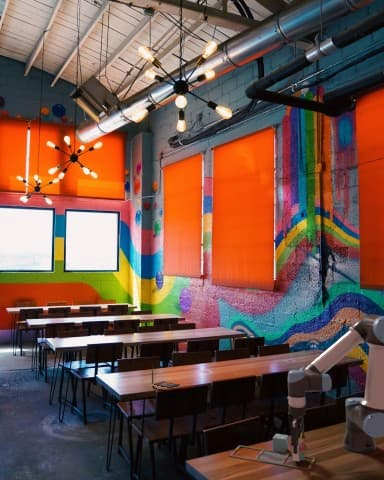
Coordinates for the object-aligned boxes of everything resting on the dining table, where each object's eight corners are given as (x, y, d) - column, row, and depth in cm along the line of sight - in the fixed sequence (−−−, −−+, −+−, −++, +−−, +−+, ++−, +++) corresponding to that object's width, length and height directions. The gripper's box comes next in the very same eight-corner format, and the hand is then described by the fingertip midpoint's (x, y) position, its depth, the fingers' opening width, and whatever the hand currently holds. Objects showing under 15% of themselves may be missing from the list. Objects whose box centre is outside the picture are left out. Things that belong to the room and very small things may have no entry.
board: (239, 445, 229) (239, 445, 229) (315, 458, 213) (315, 457, 213) (229, 456, 216) (229, 455, 216) (309, 470, 200) (309, 469, 200)
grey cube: (276, 446, 228) (276, 433, 229) (288, 448, 226) (288, 435, 226) (273, 450, 223) (272, 437, 223) (285, 452, 220) (285, 439, 221)
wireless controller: (181, 389, 340) (181, 365, 342) (168, 393, 330) (168, 368, 331) (161, 385, 353) (160, 362, 354) (148, 388, 342) (148, 365, 343)
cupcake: (305, 454, 214) (304, 427, 215) (310, 462, 205) (309, 434, 206) (286, 455, 214) (285, 428, 214) (291, 462, 205) (290, 434, 206)
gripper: (294, 398, 222) (295, 447, 221) (282, 410, 203) (284, 464, 202) (310, 400, 219) (311, 449, 217) (300, 412, 200) (301, 467, 198)
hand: (298, 456), depth 210 cm, fingers closed on cupcake, 8 cm apart
